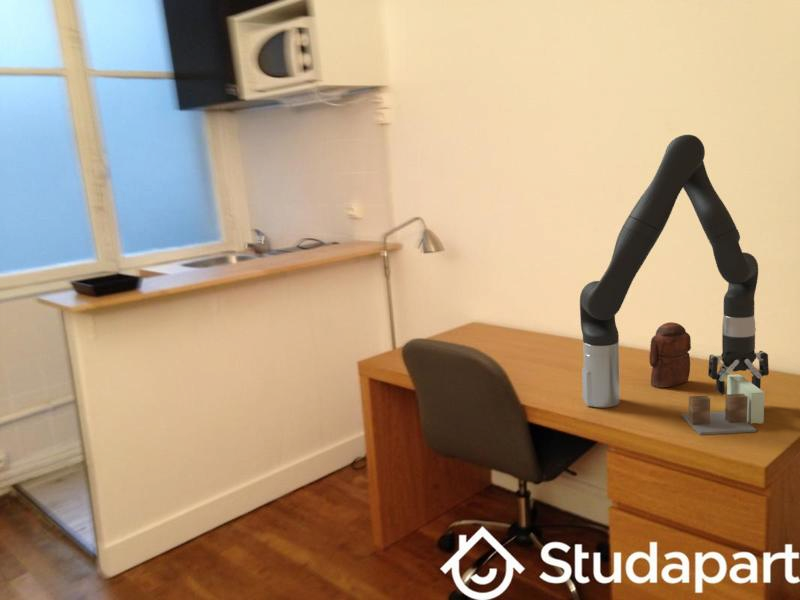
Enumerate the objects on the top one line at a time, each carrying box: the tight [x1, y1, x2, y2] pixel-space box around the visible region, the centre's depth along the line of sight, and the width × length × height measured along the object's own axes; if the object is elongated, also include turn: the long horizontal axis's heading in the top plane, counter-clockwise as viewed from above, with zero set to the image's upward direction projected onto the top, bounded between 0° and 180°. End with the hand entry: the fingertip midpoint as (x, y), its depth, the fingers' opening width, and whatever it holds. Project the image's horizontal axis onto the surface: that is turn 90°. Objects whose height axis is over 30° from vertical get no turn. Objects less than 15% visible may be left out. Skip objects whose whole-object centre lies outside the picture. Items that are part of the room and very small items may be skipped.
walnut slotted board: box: [688, 393, 748, 425], centre depth 169 cm, size 13×2×6 cm, turn 87°
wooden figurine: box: [649, 321, 692, 389], centre depth 198 cm, size 12×6×18 cm, turn 115°
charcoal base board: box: [681, 411, 757, 436], centre depth 170 cm, size 13×12×1 cm
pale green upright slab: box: [726, 374, 766, 425], centre depth 174 cm, size 3×14×8 cm, turn 177°
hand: (738, 392), depth 179 cm, fingers open, 8 cm apart
